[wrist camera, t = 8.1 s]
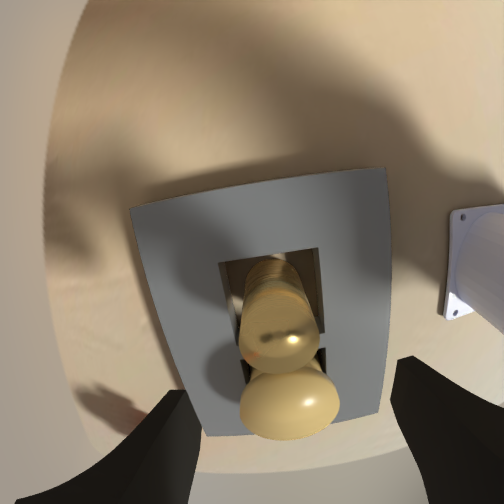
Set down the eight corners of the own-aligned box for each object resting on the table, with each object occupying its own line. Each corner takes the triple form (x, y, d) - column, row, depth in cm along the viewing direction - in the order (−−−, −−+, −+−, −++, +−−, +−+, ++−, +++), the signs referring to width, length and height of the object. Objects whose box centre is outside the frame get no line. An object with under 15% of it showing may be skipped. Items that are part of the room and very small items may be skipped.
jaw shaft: (297, 254, 16) (318, 301, 10) (302, 305, 17) (321, 367, 11) (241, 262, 16) (231, 313, 10) (250, 312, 17) (246, 377, 11)
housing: (370, 167, 14) (409, 168, 10) (370, 395, 19) (387, 435, 15) (143, 203, 15) (105, 216, 11) (210, 418, 20) (202, 461, 16)
